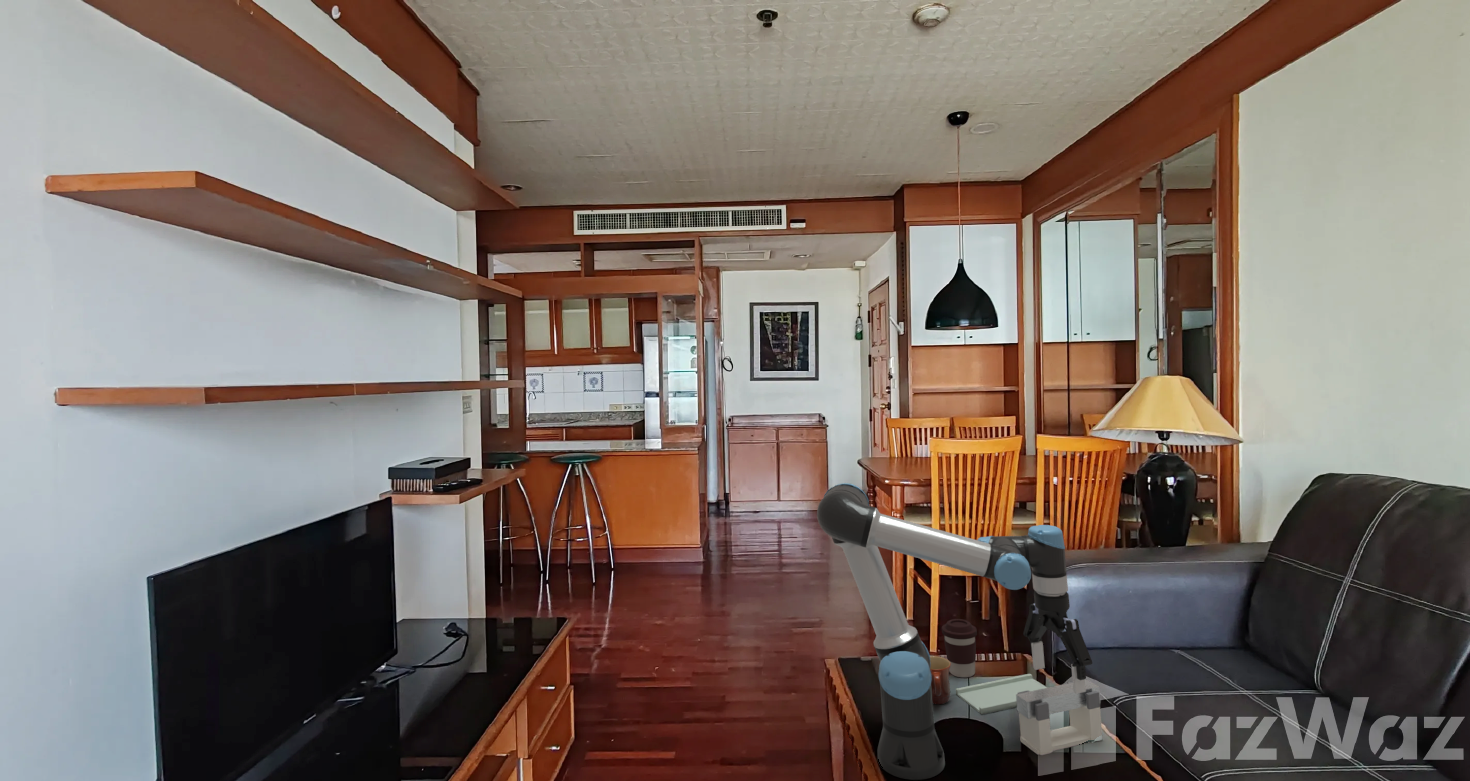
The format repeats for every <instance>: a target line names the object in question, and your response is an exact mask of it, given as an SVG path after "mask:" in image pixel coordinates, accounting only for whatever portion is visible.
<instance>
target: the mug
mask: <svg viewBox="0 0 1470 781" xmlns="http://www.w3.org/2000/svg"><path fill="white" fill-rule="evenodd" d="M930 662H931V667H930V671H931V676H932V677H931V678H932V680H931V689H932V703H933V705H936V706H937V705H944V704H945V705H946V704H947V703H948V702H949V701H950V699H951V684H950V671H949V670H950V666H951V663H950V661H949V660H948V659H947V658H945V657H941V656H936V655H935V656H934V655H930Z"/></svg>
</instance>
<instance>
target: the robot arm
mask: <svg viewBox="0 0 1470 781" xmlns="http://www.w3.org/2000/svg"><path fill="white" fill-rule="evenodd" d="M816 510H817V511H816V518H817V521H818V522H817V523H818V525H819V526H820V529H822V530H823V532H824V533H825V534H826V535H828V536H829V537H831V538H832V541H833V545H835V546H838V547H840V548H841V549H842V551H843V554H844V556H845V558H846V562H847V563H848V566H849V569H850V571H851V574H852V577H853V579H854V582H855V584H856V587H857V590H858V592H859V594H860V597H861V599H862V603H863V605H864V608H865V610H866V612H867V615H868V617H869V620H870V622H871V626H872V627H873V631H874V633H875V635H876V636H875V639H874V640H873V647H874V649H875V652H876V655H877V657H878V660H879V661H880V663H879V666H878V668H879V669H878V680H879V686H880V698H881V700H880V701H881V702H880V703H881V712H882V713H881V714H882V716H881V717H882V730H881V733H880V737H879V742H878V746H877V750H876V752H877V760H878V759H879V762H880V764H881V766H882V767H883V768H882V767H881V766H880V767H881V768H882V769H883V770H884V771H885V772H886V773H888V774H890V775H892V776H893V777H896V778H900V779H905V780H913V781H918V780H920V781H922V780H927V779H931V778H933V777H935V776H937V775H939V774H940V773H941V772H942V771H943V770H944V769H945V766H946V761H945V753H944V749H943V747H942V743H941V742H940V739H939V737H938V734H937V732H936V729H935V719H934V717H935V716H934V704H933V703H932V689H931V680H932V678H931V677H932V676H931V671H930V667H931V662H930V656H931V655H930V653H929V650H928V648H927V647H926V645H925V643H924V642H923V641H922V640H921V637H920V635H919V632H918V630H917V628H916V627H915V626H913V625H909V623H908V620H907V618H906V615H905V613H904V610H903V607H902V605H901V602H900V599H898V595H897V593H896V590H895V587H894V585H893V582H892V579H891V577H890V575H889V572H888V570H887V567H886V563H885V562H884V560H883V557H882V555H881V552H880V549H879V548H882V549H886V550H889V551H892V552H896V553H898V554H903V555H906V556H910V557H914V558H915V559H916V558H918V559H920V560H923V561H928V562H931V563H934V564H937V565H942V566H945V567H948V568H952V569H955V570H957V571H958V570H959V571H962V572H965V573H970V574H973V575H976V576H980V577H983V578H986V579H990V580H993V581H996V582H997V583H999V585H1001V586H1002V587H1004V588H1005V589H1008V590H1013V591H1018V590H1020V589H1023V588H1025V587H1026V586H1027V585H1028V584H1029V583H1030V580H1031V579H1032V588H1033V590H1034V592H1033V596H1034V597H1033V598H1034V603H1031V604H1029V605H1028V606H1029V608H1028V609H1029V610H1028V611H1029V613H1028V616H1027V620H1026V623H1025V626H1024V630H1023V636H1024V637H1025V638H1028V641H1029V642H1030V644H1029V645H1030V652H1031V654H1032V655H1031V657H1032V666H1033V670H1035V671H1037V670H1041V669H1045V668H1046V667H1045V656H1044V653H1045V652H1044V645H1043V644H1044V643H1043V641H1042V640H1043V639H1042V637H1043V636H1044V634H1045V633H1046V631H1047V630H1050V631H1052V632H1053V633H1055V635H1056V637H1058V638H1059V639H1060V640H1061V642H1062V644H1063V646H1064V648H1065V650H1066V651H1067V654H1068V655H1069V657H1070V659H1071V661H1072V663H1071V664H1070V666H1071V667H1070V668H1071V678H1072V681H1073V691H1074V693H1075V694H1077V693H1082V692H1086V686H1085V680H1087V679H1086V678H1087V674H1086V666H1090V665H1091V666H1092V664H1093V659H1092V658H1091V655H1090V652H1089V649H1088V648H1087V645H1086V642H1085V640H1084V637H1083V635H1082V632H1081V630H1080V624H1079V620H1078V619H1077V618H1072V619H1070V618H1069V617H1068V614H1067V613H1068V611H1069V609H1070V595H1069V593H1068V591H1069V584H1068V575H1067V562H1066V560H1067V558H1066V550H1065V549H1066V546H1065V540H1064V535H1063V531H1062V529H1061V528H1060V527H1057V526H1055V525H1048V524H1039V525H1031V526H1030V527H1029V528H1028V533H1027V534H1026V535H1004V536H1003V535H1000V536H999V535H998V536H997V535H989V536H980V537H978V538H977V539H973V538H970V537H966V536H963V535H960V534H959V535H958V534H956V533H952V532H948V531H945V530H941V529H938V528H933V527H930V526H926V525H924V524H923V525H922V524H919V523H916V522H913V521H910V520H909V521H908V520H904V519H902V518H898V517H894V516H891V515H888V514H887V515H886V514H885V513H881V512H880V511H879V510H878V508H877V507H874V506H871V505H870V502H869V498H868V496H867V494H866V493H865V491H863V489H861V488H860V487H859V486H858V485H855V484H852V483H848V482H847V483H846V482H844V483H843V482H841V483H837V484H835V485H834V486H832V487H830V488H829V489H827V491H826V492H825V493H824V496H823V498H821V500H820V502H819V503H818V505H817V508H816ZM879 762H878V763H879ZM880 764H879V765H880Z"/></svg>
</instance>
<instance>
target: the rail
mask: <svg viewBox="0 0 1470 781" xmlns="http://www.w3.org/2000/svg"><path fill="white" fill-rule="evenodd" d="M1085 686H1086V692H1082V693H1077V694H1075V693H1074V691H1073V683H1068V684H1067V683H1065V684H1063V683H1062V684H1059V685H1054V686H1051V687H1050V686H1049V687H1047V688H1044V689H1040V690H1035V691H1030V692H1025V693H1021V694H1016V700H1017V707H1016V711H1017V713H1018V714H1019V713H1021V714H1022V715H1023V716H1025V717H1026V718H1028V719H1031V718H1036V711H1035V704H1039V703H1044V702H1047V703H1048V704H1049V715H1054V714H1057V713H1062V712H1066V711H1069V710H1072V709H1076V708H1081V707H1085V706H1087V702H1086V693H1090V692H1094V691H1097V692H1099V699H1100V700H1101V690H1100V689H1101V688H1100V686H1099V685H1097V684H1096V683H1094V682H1092V681H1091V680H1089V679H1085Z"/></svg>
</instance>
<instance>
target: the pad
mask: <svg viewBox="0 0 1470 781" xmlns="http://www.w3.org/2000/svg"><path fill="white" fill-rule="evenodd" d="M1044 688H1048V687H1047V686H1046V685H1044V684H1042V683H1041V682H1039V681H1037V680H1036V679H1034V677H1033V674H1031V673H1027V674H1020V675H1016V676H1011V677H1008V678H1007V677H1006V678H1003V679H1002V678H1001V679H997V680H993V681H987V682H982V683H978V684H973V685H972V684H971V685H968V686H963V687H959V688H958V687H957V688H955V695H956V696H958V698H960V699H961V700H963V701H964V702H965V703H966V704H967V705H969V706H970V707H971V708H973V709H974V710H975V711H977V713H979V714H980V715H987V714H992V713H995V712H996V713H997V712H1000V711H1007V710H1011V709H1015V708H1017V700H1016V694H1018V692H1023V691H1035V690H1040V689H1044Z"/></svg>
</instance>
